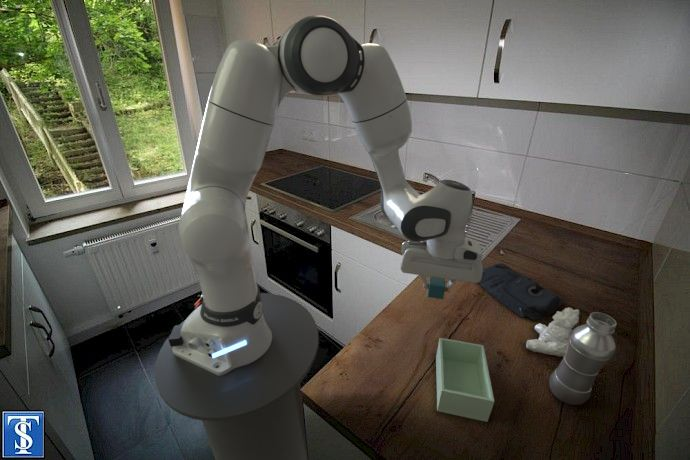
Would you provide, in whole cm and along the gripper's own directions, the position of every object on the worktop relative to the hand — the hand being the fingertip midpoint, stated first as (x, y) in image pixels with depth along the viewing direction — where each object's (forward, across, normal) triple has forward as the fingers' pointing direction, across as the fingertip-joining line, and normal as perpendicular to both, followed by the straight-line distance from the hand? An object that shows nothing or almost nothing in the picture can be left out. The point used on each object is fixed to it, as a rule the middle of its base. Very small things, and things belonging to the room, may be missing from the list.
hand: (436, 288), depth 84 cm
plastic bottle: (+5, +25, -22) cm, 34 cm away
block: (+2, 0, 0) cm, 2 cm away
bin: (+2, 0, -25) cm, 25 cm away
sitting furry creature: (+5, +26, -9) cm, 28 cm away
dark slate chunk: (+5, +23, +11) cm, 26 cm away
